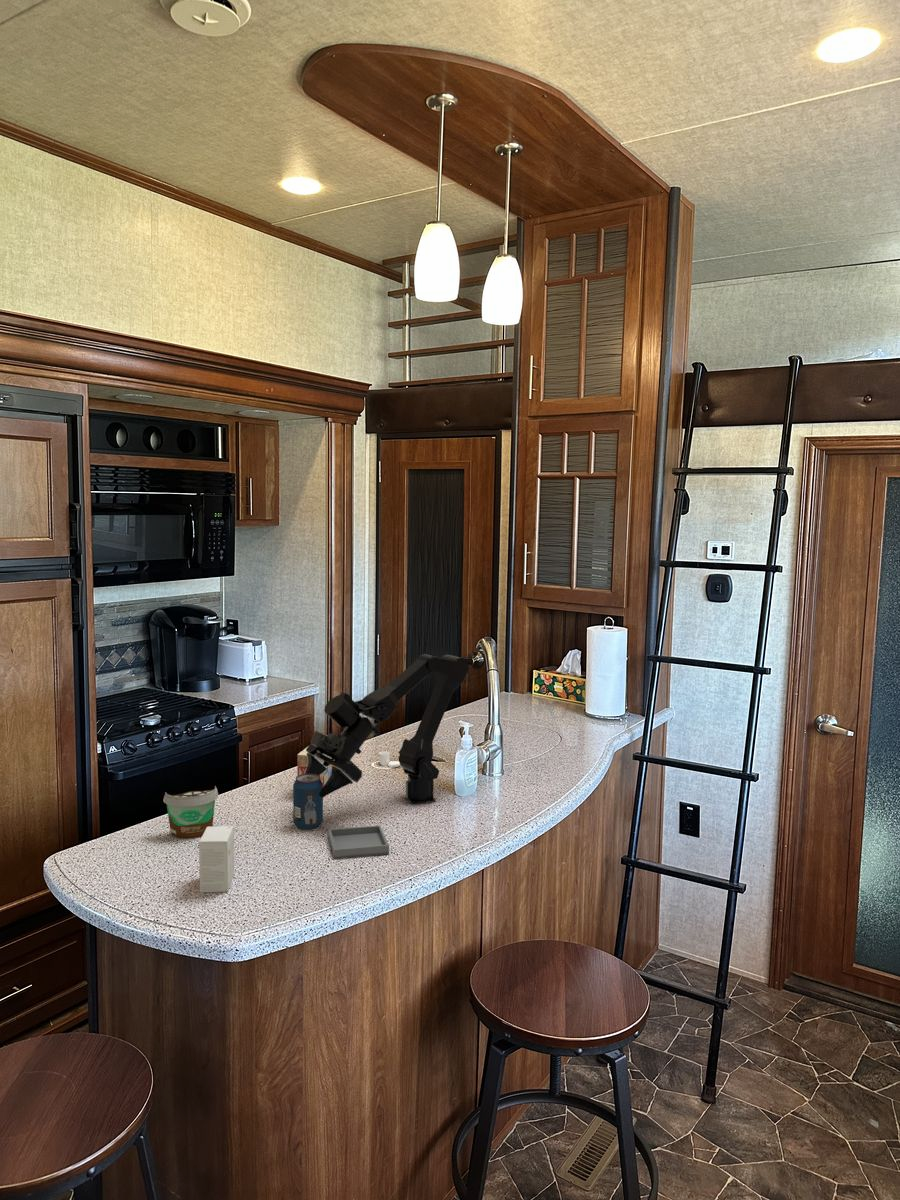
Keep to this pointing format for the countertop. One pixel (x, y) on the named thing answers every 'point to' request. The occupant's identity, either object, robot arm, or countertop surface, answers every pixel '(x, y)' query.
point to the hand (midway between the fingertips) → (311, 790)
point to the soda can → (307, 802)
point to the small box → (216, 859)
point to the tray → (358, 842)
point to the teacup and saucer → (385, 761)
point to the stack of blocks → (304, 763)
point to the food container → (190, 812)
